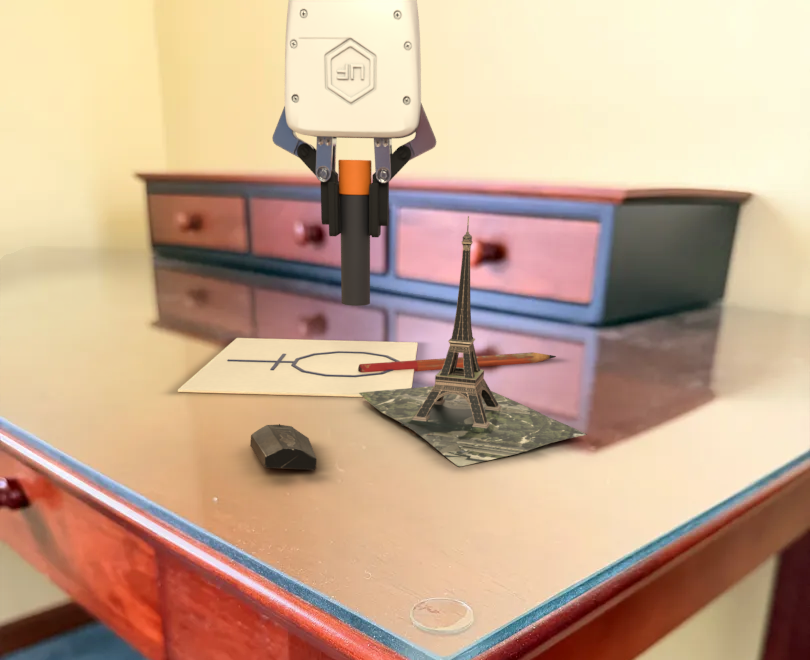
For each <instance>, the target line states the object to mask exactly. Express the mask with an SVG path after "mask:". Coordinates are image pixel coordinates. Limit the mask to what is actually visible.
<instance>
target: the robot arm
mask: <svg viewBox="0 0 810 660" xmlns="http://www.w3.org/2000/svg"><path fill="white" fill-rule="evenodd" d="M287 1H288V3H287V11H286V22H285V24H286V25H285V45H284V46H285V48H284V106H283V109H282V112H281V114H280V117H279V118H278V121H277V124H276V127H275V129H274V132H273V134H272V142H273V144H274V145H275V146H276V147H278V148H280V149H282V150H284V151H285V152H287V153H290V154H291V155H293V156H295V157H297V158H299V159H300V160H301V161H302V163H303V164H304V165H305V166H306V167H307V168H308V169H309V170H310V171H311V172H312V173H313V174H314V176H315V177H316V179H317V180H318V181H319V182H320V217H321V225H325V226H327V225H328V236H329V237H337V236H339V235H341V222H340V194H339V172H337V171H336V167H337V164H336V163H337V144H338V143H337V142H338V141H337V140H338V139H339V138H342V139H373V150H374V153H373V154H374V168H375V169H374V170H375V171H374V173H373V174H371V184H370V185H369V236H370V237H371V238H379V237H380V236H381V234H382V227H388V226H389V222H390V219H389V217H390V216H389V213H390V182H391V181H392V180H393V179H394V178H395V176H396V175H397V174H398V173H399V172H400V171H401V170H402V169H403V168H404V167H405V166H406V164H408V162H410V161H411V160H414V159H415V158H418V157H419V156H421V155H423V154H425V153H427V152H429V151H431V150H433V149H434V148H436V146H437V138H436V135H435V133H434V131H433V128H432V125H431V123H430V121H429V118H428V116H427V113H426V111H425V109H424V106H423V103H422V58H421V30H420V18H419V17H420V16H419V9H418V8H419V6H418V0H287ZM296 133H297V134H298V135H299V134H300V135H303V136H308V137H309V136H310V137H316V146H315V147H314V146H313V145H312V144H310V143H308V142H307V141H305V140H303V139H301V138H300V137H299V136H298V135H297V134H296ZM413 134H415V136H414V137H413V139H411V140H410V141H408V142H405V143H404V144H401V145H400V146H398V147H397V148H396V149H395V151H393V142H392V141H393V140H392V139H404V138H408V137H411V136H412V135H413Z"/></svg>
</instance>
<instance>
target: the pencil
mask: <svg viewBox="0 0 810 660" xmlns="http://www.w3.org/2000/svg"><path fill="white" fill-rule="evenodd" d="M476 357H477V362H478V365H479V368H482V367H483V368H484V367H496V366H511V365H512V366H513V365H526V364H535V363H540V362H543V361H546V360H547V361H548V360H550V359H554V358H557V356H556V355H552V354H546V353H539V352H534V351H533V352H518V353H516V352H515V353H503V354H488V355H487V354H486V355H476ZM445 359H446V357H445V358H444V357H443V358H430V359H429V358H428V359H416V360H413V361H399V362H384V363H369V364H360V365H359V367H358V371H359V372H362V373H363V372H378V371H386V370H391V369H393V370H406V369H414V372H425V371H441V370H442V368H443V365H444V362H445ZM456 367H458V368H464V366H463V356H458V361H457V366H456Z"/></svg>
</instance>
